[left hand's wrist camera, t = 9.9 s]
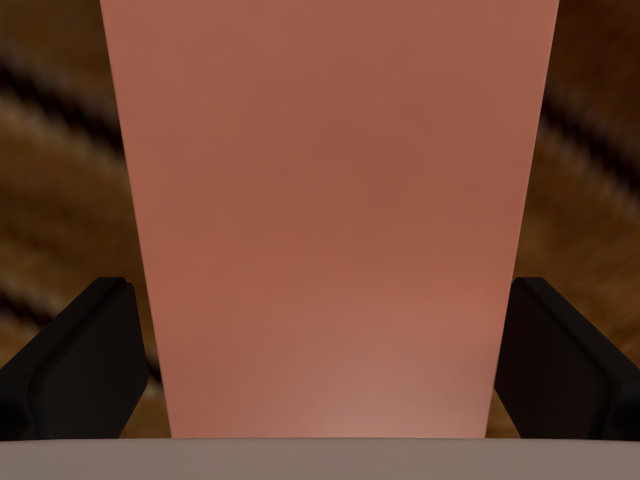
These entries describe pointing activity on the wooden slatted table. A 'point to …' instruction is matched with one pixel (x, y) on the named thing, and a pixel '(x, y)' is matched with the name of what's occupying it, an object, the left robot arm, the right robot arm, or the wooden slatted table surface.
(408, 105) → the cabinet
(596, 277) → the wooden slatted table surface
